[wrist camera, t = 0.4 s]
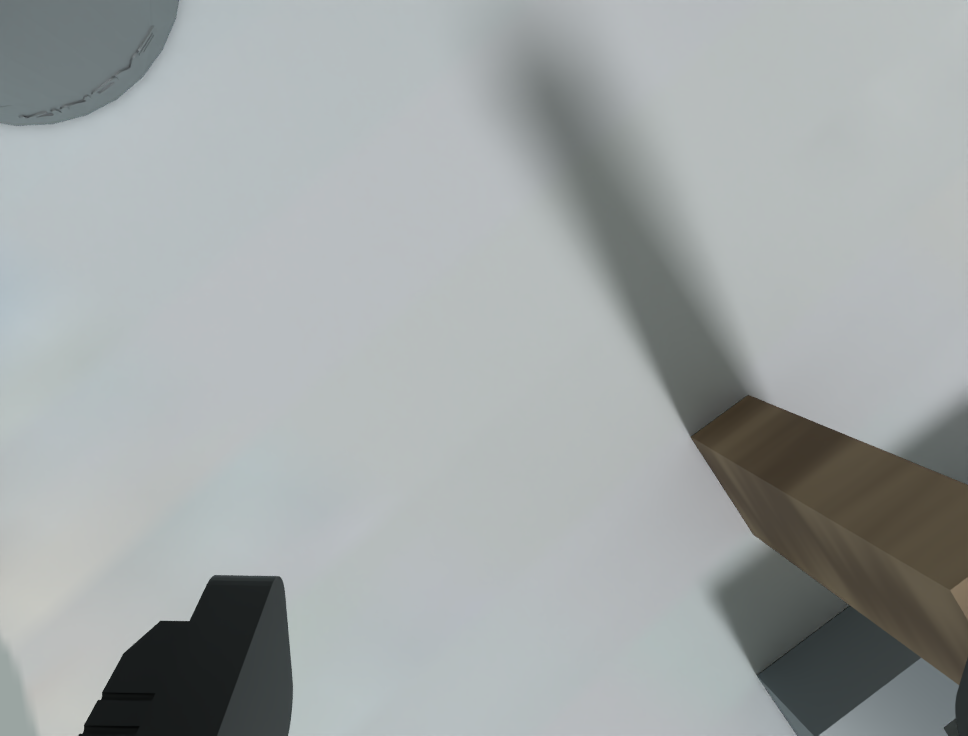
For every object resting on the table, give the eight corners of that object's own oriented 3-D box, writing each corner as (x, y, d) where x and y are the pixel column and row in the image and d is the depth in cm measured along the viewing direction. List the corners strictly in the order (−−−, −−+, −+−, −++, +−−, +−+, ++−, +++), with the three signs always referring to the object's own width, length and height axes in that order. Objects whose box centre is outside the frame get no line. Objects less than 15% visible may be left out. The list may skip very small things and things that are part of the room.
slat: (690, 436, 30) (949, 590, 18) (748, 395, 30) (1046, 517, 18) (753, 534, 31) (1041, 745, 19) (808, 493, 31) (1131, 674, 19)
